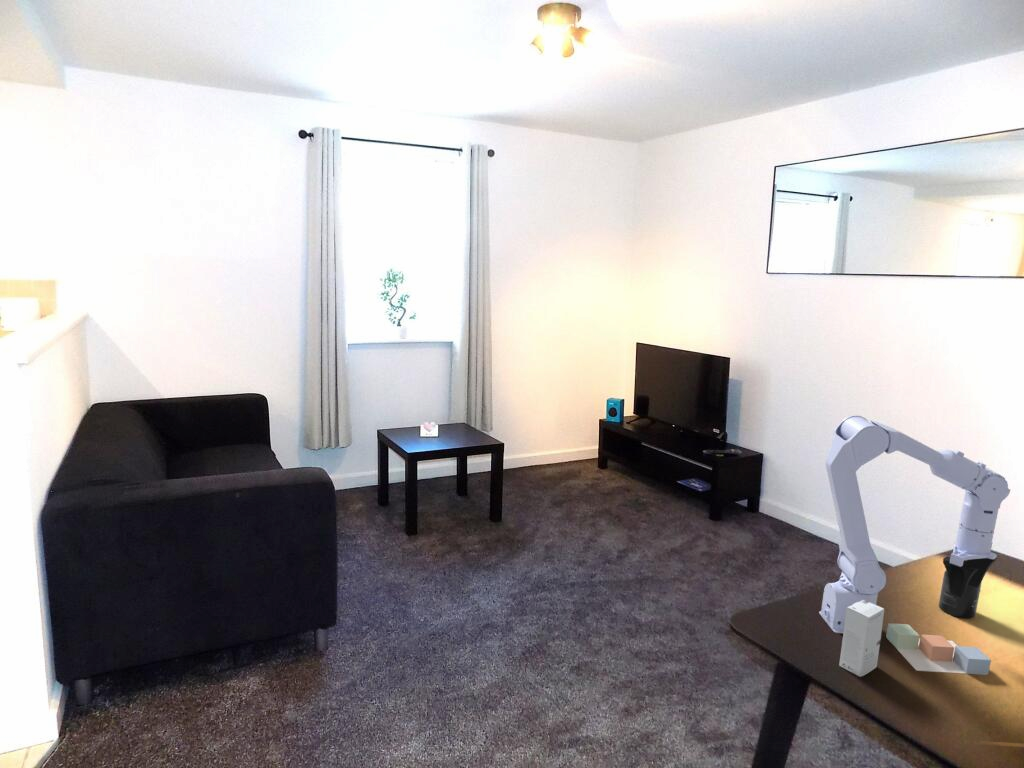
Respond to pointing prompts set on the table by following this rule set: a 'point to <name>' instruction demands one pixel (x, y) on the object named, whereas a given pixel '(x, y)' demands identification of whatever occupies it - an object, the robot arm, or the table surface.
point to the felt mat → (929, 661)
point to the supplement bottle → (959, 600)
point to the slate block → (971, 660)
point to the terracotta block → (936, 648)
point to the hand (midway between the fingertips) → (964, 590)
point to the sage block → (902, 636)
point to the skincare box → (861, 637)
